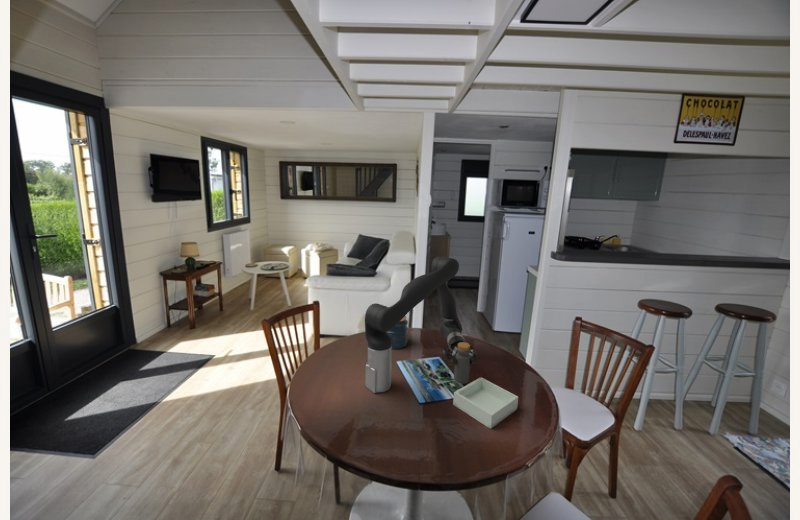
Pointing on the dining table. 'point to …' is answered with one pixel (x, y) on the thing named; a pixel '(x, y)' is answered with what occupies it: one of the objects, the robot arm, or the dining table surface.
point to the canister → (399, 334)
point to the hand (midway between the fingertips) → (464, 363)
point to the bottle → (462, 363)
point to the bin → (485, 402)
